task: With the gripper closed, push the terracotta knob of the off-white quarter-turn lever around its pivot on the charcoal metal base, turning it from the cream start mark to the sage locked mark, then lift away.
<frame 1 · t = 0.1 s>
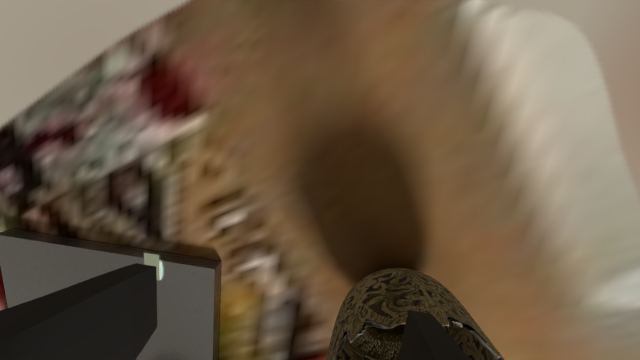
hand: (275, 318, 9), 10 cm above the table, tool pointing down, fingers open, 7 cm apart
cup: (390, 285, 19), on the table
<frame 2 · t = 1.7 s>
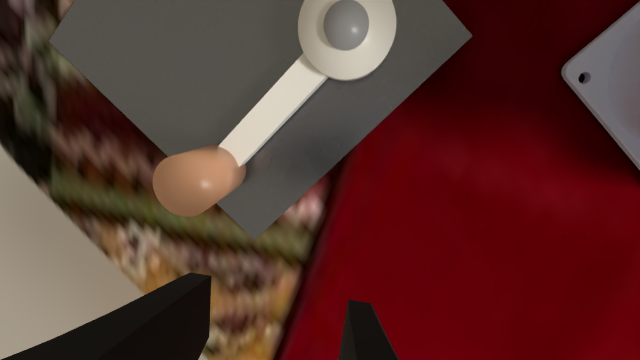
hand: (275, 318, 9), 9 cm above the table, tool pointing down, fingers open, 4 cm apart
lock base: (347, 41, 15), on the table
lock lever: (275, 100, 13), point 3 cm above the table, hinge at 0.0°
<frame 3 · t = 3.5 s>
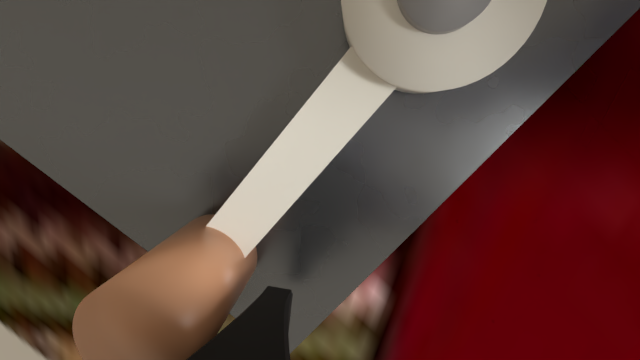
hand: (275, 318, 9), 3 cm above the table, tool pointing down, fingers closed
lock base: (413, 23, 9), on the table
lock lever: (305, 145, 7), point 3 cm above the table, hinge at 1.4°, touching gripper
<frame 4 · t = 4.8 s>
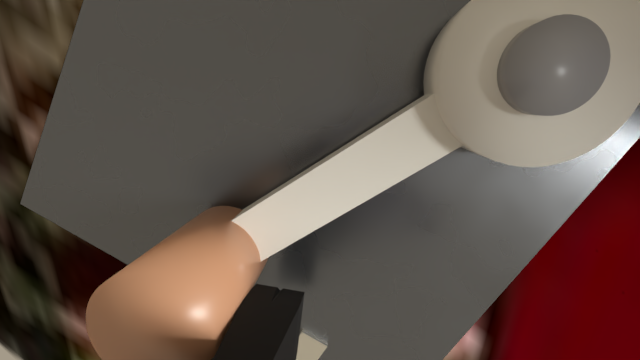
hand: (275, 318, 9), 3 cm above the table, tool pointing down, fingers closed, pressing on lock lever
lock base: (482, 81, 9), on the table
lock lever: (366, 179, 7), point 3 cm above the table, hinge at 26.7°, touching gripper
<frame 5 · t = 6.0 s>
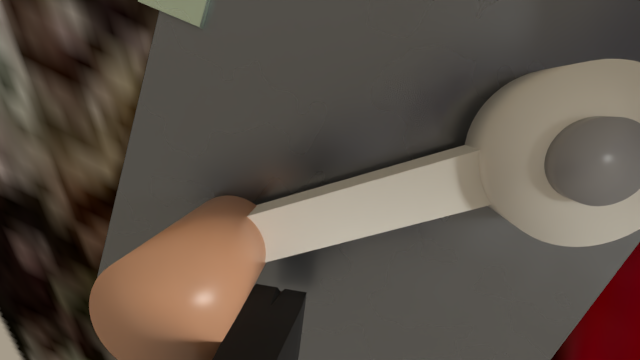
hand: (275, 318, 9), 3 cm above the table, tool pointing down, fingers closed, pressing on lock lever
lock base: (515, 143, 9), on the table
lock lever: (398, 216, 7), point 3 cm above the table, hinge at 50.1°, touching gripper
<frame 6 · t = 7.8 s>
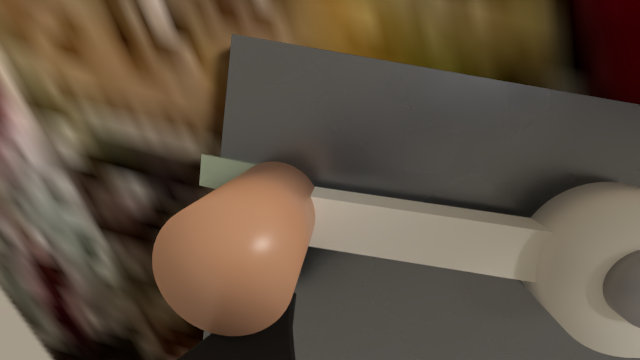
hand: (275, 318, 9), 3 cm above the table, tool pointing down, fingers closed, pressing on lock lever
lock base: (560, 231, 10), on the table
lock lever: (465, 262, 7), point 3 cm above the table, hinge at 86.9°, touching gripper
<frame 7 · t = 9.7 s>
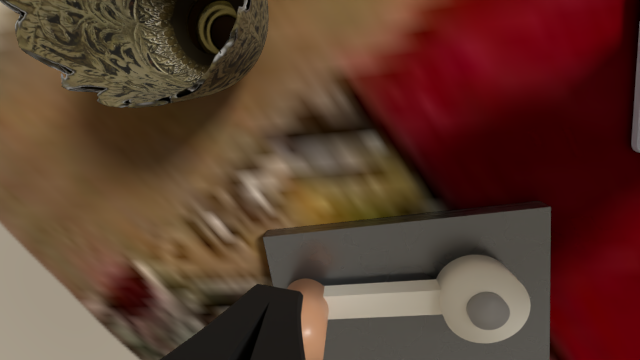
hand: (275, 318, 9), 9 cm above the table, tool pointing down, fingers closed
lock base: (463, 274, 18), on the table
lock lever: (398, 316, 15), point 3 cm above the table, hinge at 91.3°
cup: (228, 34, 16), on the table
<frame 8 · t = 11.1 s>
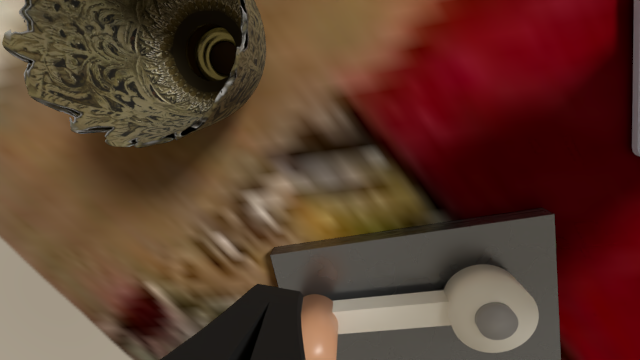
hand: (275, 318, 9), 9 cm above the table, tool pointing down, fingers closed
lock base: (471, 283, 18), on the table
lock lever: (408, 330, 15), point 3 cm above the table, hinge at 91.3°
cup: (227, 59, 16), on the table
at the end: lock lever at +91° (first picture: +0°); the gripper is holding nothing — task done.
